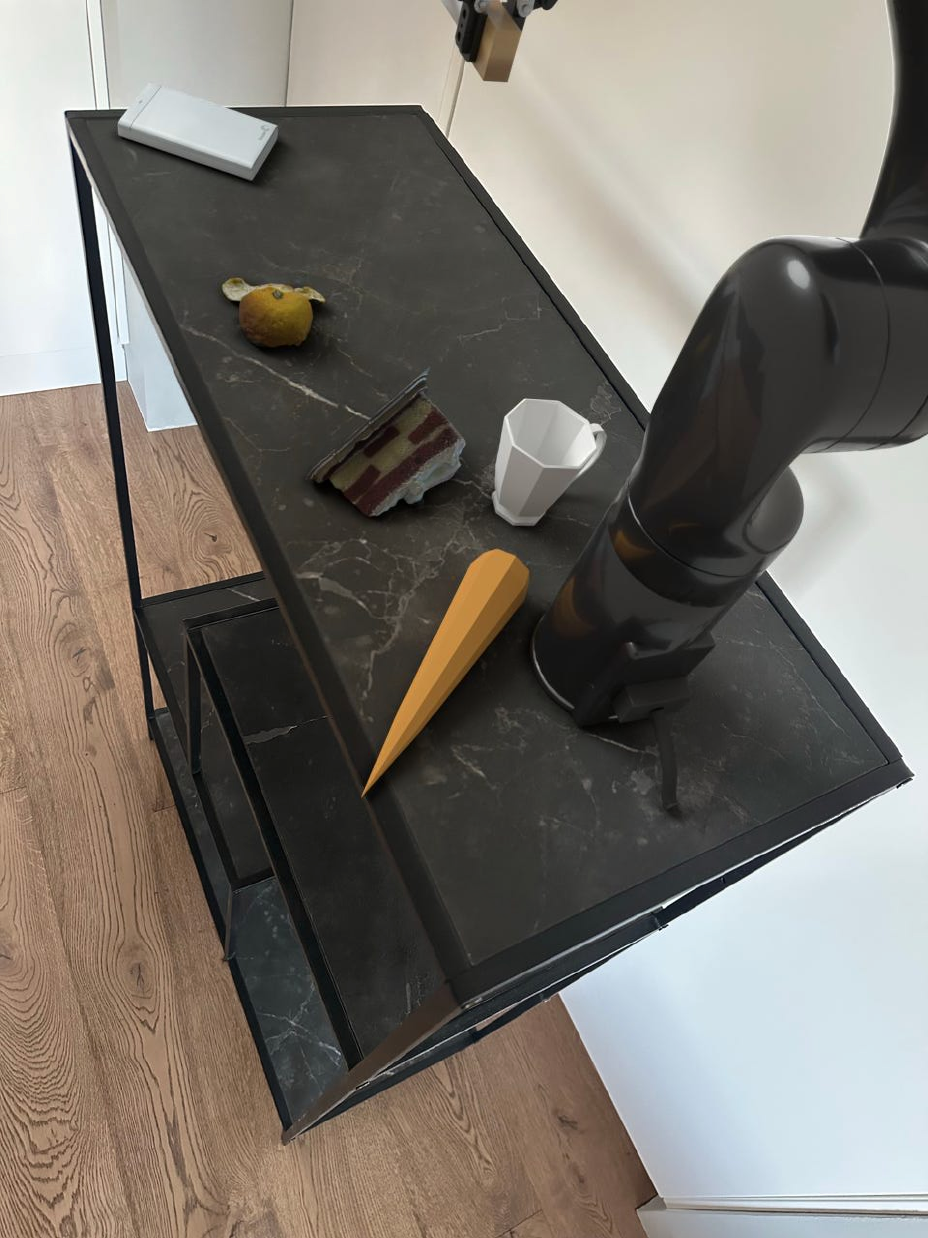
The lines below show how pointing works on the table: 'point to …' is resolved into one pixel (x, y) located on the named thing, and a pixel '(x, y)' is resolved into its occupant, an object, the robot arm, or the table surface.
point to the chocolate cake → (395, 453)
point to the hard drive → (198, 130)
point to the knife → (493, 41)
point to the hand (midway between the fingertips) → (483, 56)
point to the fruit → (273, 311)
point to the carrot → (457, 645)
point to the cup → (541, 458)
